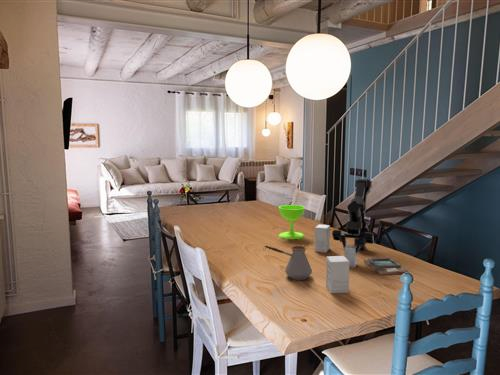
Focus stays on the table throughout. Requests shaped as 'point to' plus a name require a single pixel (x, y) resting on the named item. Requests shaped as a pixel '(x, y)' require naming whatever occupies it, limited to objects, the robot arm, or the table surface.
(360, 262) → the table surface
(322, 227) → the small box
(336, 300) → the table surface
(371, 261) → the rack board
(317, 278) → the table surface
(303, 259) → the coffee pot
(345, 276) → the supplement box
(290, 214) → the wineglass
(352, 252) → the light grey block
